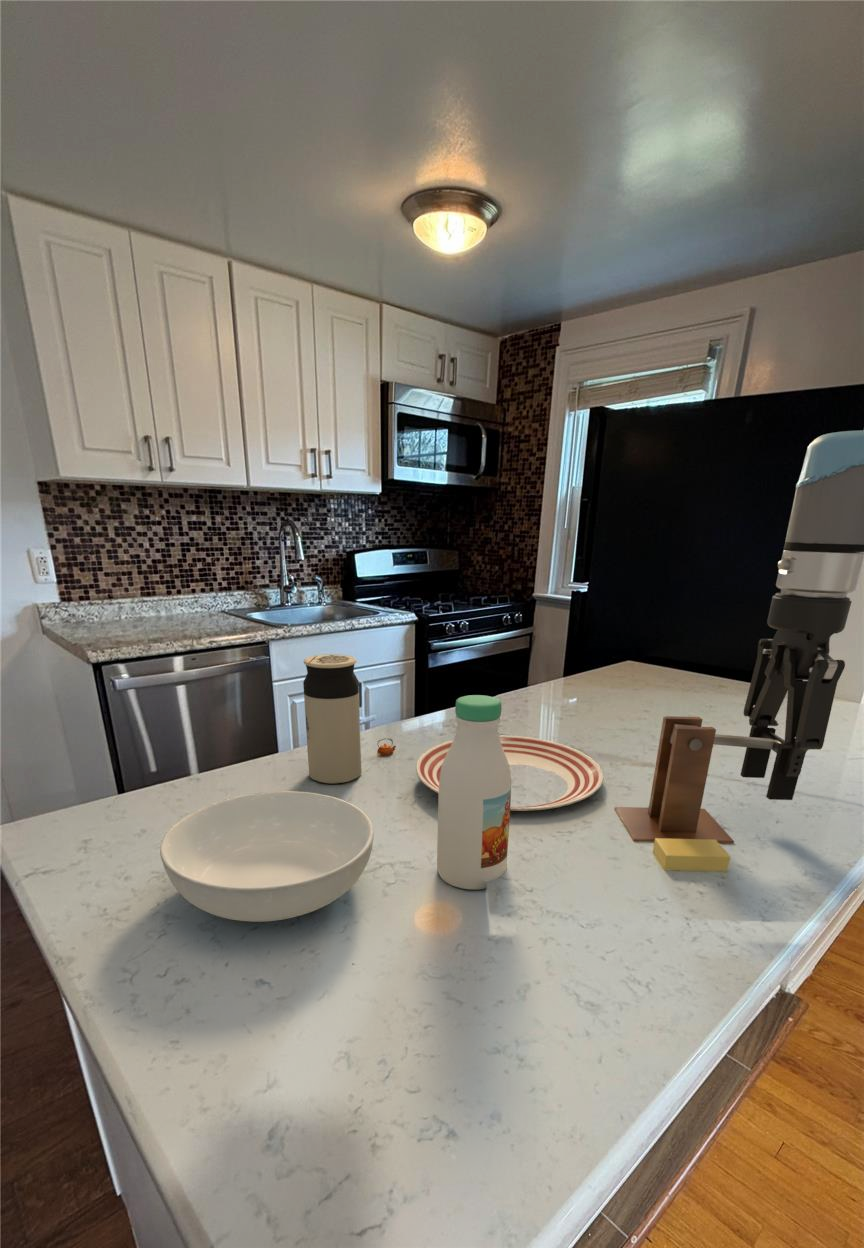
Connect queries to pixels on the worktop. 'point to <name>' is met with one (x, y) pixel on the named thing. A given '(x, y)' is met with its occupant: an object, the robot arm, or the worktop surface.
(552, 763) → the dinner plate
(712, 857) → the butter
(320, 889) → the serving bowl
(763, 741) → the metal lever handle
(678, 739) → the brown lever stand
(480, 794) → the milk bottle
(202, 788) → the worktop surface
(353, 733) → the travel mug
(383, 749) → the teapot
